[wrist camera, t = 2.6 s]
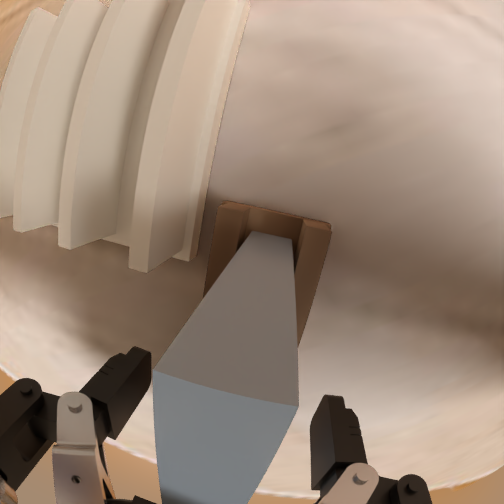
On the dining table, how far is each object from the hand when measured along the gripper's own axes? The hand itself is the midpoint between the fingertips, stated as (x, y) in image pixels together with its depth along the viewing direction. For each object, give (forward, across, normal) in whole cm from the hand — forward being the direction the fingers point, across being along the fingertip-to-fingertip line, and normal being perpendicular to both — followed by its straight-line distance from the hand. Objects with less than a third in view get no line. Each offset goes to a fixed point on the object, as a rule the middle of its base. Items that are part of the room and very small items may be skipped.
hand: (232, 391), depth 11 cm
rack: (+5, +10, -11) cm, 15 cm away
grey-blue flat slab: (+4, 0, 0) cm, 4 cm away
